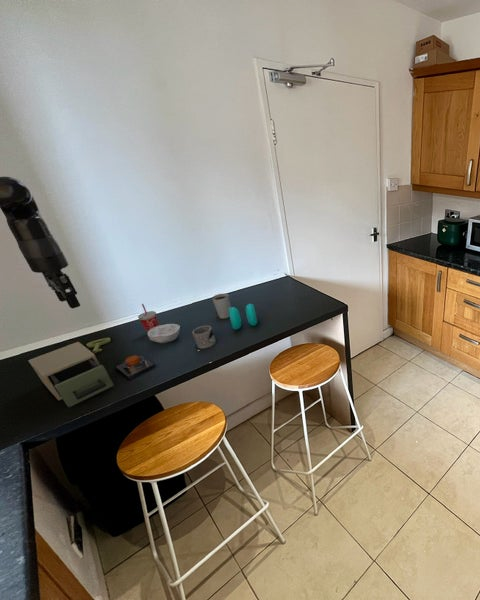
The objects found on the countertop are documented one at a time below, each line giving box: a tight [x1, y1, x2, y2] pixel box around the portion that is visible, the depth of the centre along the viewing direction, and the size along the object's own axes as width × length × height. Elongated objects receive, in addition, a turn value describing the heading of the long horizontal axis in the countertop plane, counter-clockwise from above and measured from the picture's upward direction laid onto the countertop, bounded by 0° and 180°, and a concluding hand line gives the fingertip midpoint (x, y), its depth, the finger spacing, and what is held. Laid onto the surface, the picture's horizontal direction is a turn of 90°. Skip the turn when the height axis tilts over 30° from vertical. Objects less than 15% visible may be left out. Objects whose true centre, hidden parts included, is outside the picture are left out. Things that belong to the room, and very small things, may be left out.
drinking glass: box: [211, 293, 232, 319], centre depth 146 cm, size 7×7×10 cm
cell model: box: [147, 323, 181, 344], centre depth 128 cm, size 10×12×7 cm
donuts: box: [229, 303, 259, 330], centre depth 137 cm, size 10×10×10 cm
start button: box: [124, 355, 140, 366], centre depth 112 cm, size 4×4×2 cm
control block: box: [115, 355, 156, 380], centre depth 113 cm, size 10×8×3 cm
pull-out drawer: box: [48, 359, 115, 408], centre depth 100 cm, size 18×11×8 cm, turn 58°
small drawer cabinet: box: [27, 341, 101, 401], centre depth 105 cm, size 15×13×10 cm
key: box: [86, 337, 112, 355], centre depth 125 cm, size 7×12×2 cm, turn 53°
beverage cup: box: [137, 303, 160, 334], centre depth 132 cm, size 6×6×14 cm
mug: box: [191, 324, 217, 350], centre depth 127 cm, size 10×7×7 cm
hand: (70, 303), depth 95 cm, fingers open, 8 cm apart
